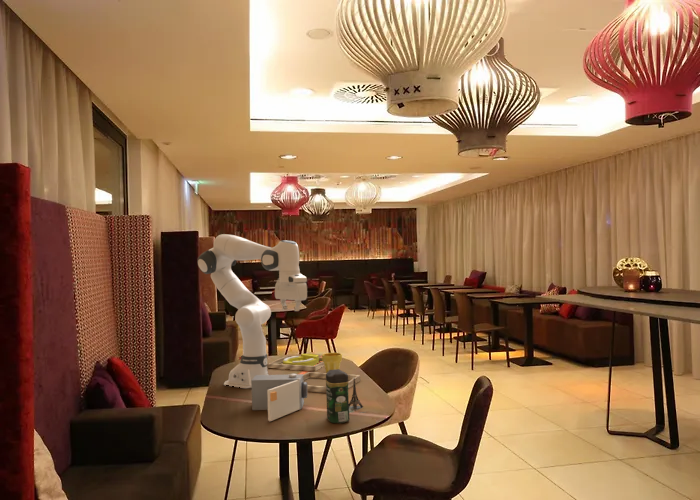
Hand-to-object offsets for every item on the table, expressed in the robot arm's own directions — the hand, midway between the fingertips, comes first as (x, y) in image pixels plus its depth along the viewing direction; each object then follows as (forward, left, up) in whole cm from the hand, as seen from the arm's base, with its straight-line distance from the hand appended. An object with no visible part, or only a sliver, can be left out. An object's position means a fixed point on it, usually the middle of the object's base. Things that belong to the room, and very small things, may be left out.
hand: (290, 310), depth 229 cm
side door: (+7, -20, -38) cm, 44 cm away
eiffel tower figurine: (+29, -3, -39) cm, 49 cm away
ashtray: (-29, +66, -39) cm, 82 cm away
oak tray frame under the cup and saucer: (+2, +28, -39) cm, 48 cm away
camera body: (-1, -9, -38) cm, 40 cm away
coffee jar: (+29, -20, -39) cm, 52 cm away
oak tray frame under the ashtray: (-29, +66, -39) cm, 82 cm away
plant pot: (-4, +53, -39) cm, 66 cm away
